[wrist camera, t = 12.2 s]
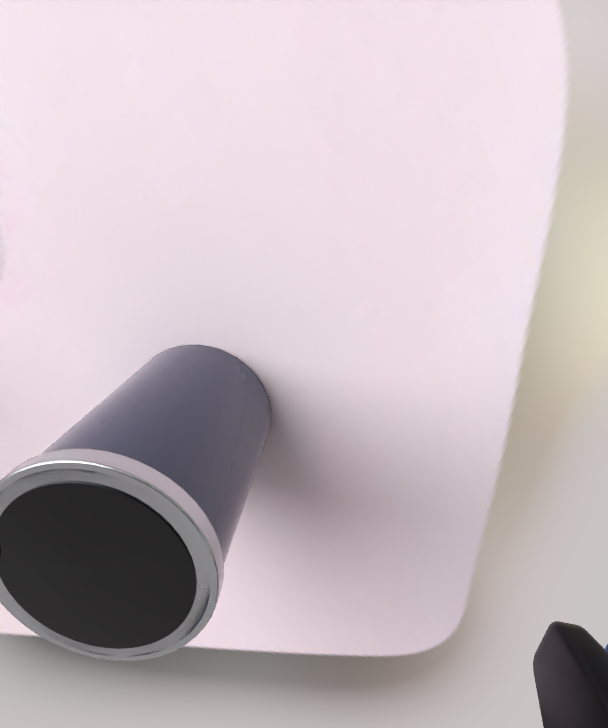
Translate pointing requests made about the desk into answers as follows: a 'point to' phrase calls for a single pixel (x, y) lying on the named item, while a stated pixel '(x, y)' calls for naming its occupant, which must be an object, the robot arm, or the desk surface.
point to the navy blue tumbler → (135, 509)
